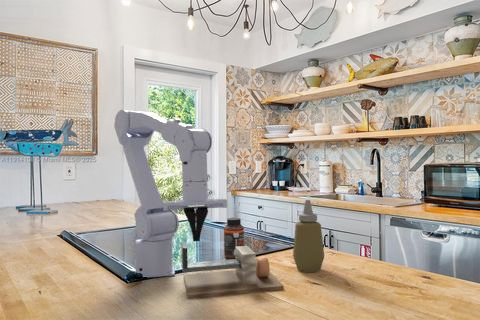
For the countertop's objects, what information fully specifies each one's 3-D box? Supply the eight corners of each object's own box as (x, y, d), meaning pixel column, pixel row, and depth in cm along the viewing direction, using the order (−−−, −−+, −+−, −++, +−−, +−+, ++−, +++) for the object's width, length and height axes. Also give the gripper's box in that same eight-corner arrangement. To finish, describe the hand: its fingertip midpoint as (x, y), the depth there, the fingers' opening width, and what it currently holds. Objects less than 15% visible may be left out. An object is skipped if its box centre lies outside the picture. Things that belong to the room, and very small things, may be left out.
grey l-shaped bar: (183, 273, 82) (182, 248, 82) (181, 266, 87) (181, 243, 87) (249, 267, 85) (248, 243, 85) (244, 261, 90) (244, 239, 90)
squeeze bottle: (327, 267, 98) (326, 198, 98) (320, 276, 91) (319, 202, 91) (298, 263, 102) (296, 198, 102) (289, 272, 94) (287, 201, 94)
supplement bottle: (242, 259, 107) (241, 220, 107) (222, 258, 108) (221, 219, 108) (246, 254, 113) (245, 217, 113) (226, 253, 114) (226, 216, 114)
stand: (188, 298, 78) (187, 262, 78) (183, 277, 91) (182, 247, 91) (283, 289, 82) (283, 255, 82) (265, 270, 96) (265, 241, 96)
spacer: (258, 259, 87) (268, 258, 87) (254, 257, 91) (263, 256, 91) (260, 278, 86) (270, 277, 87) (255, 276, 90) (264, 275, 91)
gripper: (162, 183, 80) (164, 246, 80) (229, 181, 83) (230, 241, 83) (162, 181, 87) (164, 239, 87) (223, 179, 90) (225, 235, 90)
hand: (196, 240), depth 86 cm, fingers closed
